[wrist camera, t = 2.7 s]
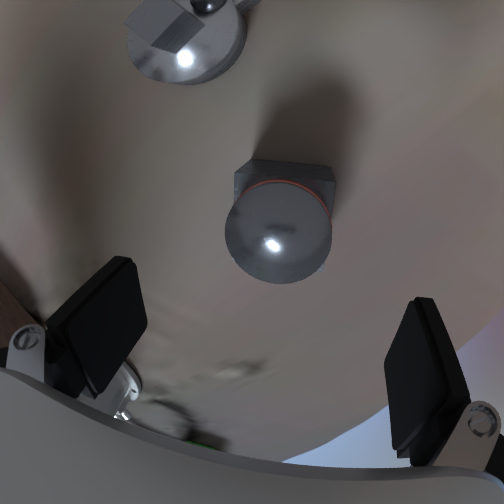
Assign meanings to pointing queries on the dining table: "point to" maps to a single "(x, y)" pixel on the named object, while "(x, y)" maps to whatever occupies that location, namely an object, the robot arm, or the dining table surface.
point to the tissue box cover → (11, 316)
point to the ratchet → (187, 38)
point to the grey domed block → (281, 219)
